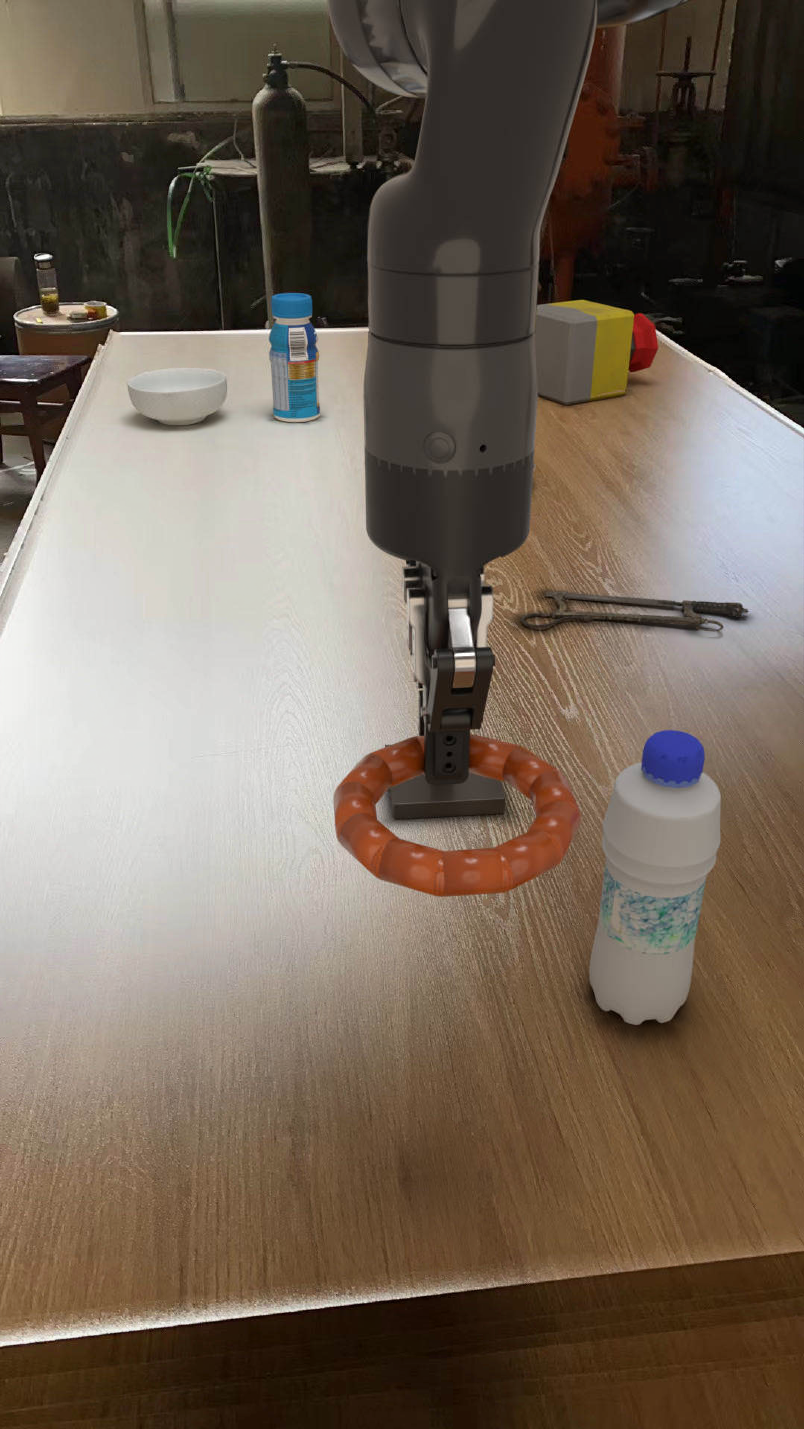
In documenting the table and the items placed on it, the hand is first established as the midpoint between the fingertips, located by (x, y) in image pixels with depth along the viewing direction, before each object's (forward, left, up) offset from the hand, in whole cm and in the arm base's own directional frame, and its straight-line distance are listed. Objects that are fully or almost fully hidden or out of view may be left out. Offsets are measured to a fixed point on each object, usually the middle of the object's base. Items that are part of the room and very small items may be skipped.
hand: (442, 765), depth 57 cm
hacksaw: (-29, -58, -21) cm, 68 cm away
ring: (0, +5, +1) cm, 5 cm away
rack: (-4, -28, -21) cm, 35 cm away
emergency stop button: (-49, -159, -21) cm, 168 cm away
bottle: (-13, -2, -21) cm, 25 cm away
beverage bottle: (+7, -144, -21) cm, 146 cm away
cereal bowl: (+27, -144, -21) cm, 148 cm away
